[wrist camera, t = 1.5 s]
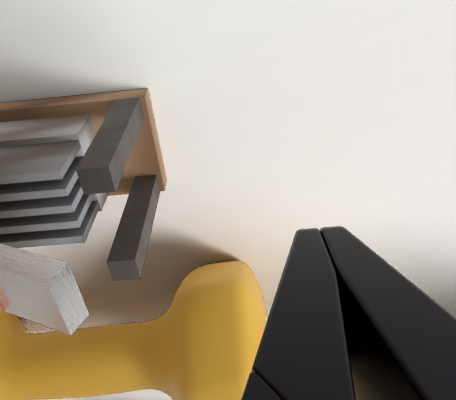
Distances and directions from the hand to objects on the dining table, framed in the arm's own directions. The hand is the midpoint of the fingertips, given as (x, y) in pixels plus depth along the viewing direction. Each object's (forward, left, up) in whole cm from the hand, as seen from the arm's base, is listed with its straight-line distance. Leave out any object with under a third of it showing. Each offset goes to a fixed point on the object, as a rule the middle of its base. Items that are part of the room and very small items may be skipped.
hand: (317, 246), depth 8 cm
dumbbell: (-14, +10, -12) cm, 21 cm away
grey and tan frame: (-3, +10, -12) cm, 16 cm away
